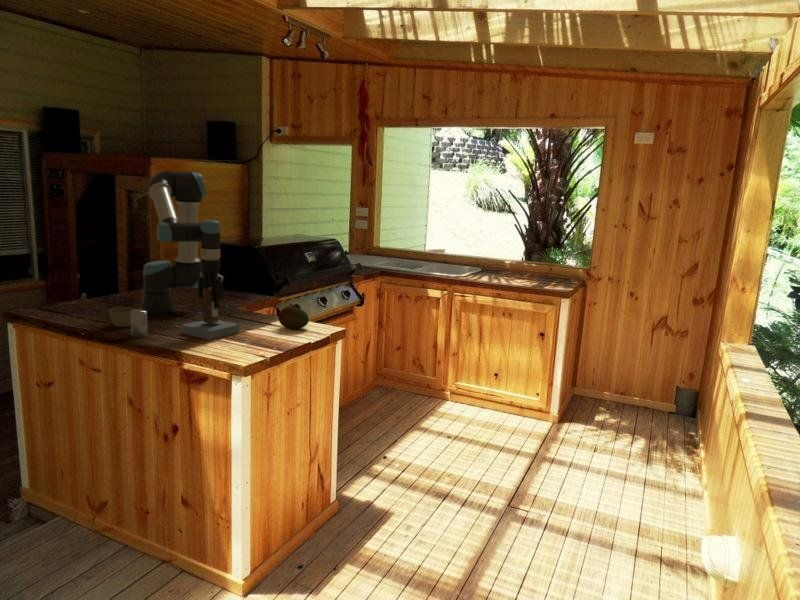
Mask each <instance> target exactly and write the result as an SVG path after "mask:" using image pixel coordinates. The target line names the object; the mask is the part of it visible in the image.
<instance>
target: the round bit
mask: <svg viewBox="0 0 800 600" xmlns="http://www.w3.org/2000/svg"><path fill="white" fill-rule="evenodd" d="M134 309H135V310H131V311H130V315H131V324H130V337H132V338H145V337H148V334H149V333H148V314H147V310H144V309H140V308H138V309H136V308H134Z"/></svg>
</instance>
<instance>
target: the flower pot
mask: <svg viewBox="0 0 800 600" xmlns="http://www.w3.org/2000/svg"><path fill="white" fill-rule="evenodd" d="M135 309H136V308H134V307H128V306H127V307H125V306H121V307H113V308H110V309H108V313H109V317H110V319H111V322H112V323H113V324H114V327H116V328H119V327H124V328H129V327H131V315H130V311H131V310H135Z"/></svg>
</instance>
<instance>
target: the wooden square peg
mask: <svg viewBox="0 0 800 600" xmlns="http://www.w3.org/2000/svg"><path fill="white" fill-rule="evenodd" d="M212 300H213V296H212V289H211V286H210V287H209V288H203V305H202V307H203V309H202V310H203V313H202V318H203V319H202V320H203V322H206V323H214V322H218V320H219V319H218V317H219V315H218V316H216V317H212Z"/></svg>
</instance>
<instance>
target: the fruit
mask: <svg viewBox="0 0 800 600" xmlns="http://www.w3.org/2000/svg"><path fill="white" fill-rule="evenodd" d="M277 318H278V321H279V324H280V325H281V326H282V327H284V328H285V329H290V330H299V329H302V328H305V327H306V326H307V325H308V324H309V321H310V319H309V316H308V314H307V312H306V311H304V309H301V308H299V307H295V306H286V307H283V308H282V309H281V310H280V311H279V312H278V317H277Z"/></svg>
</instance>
